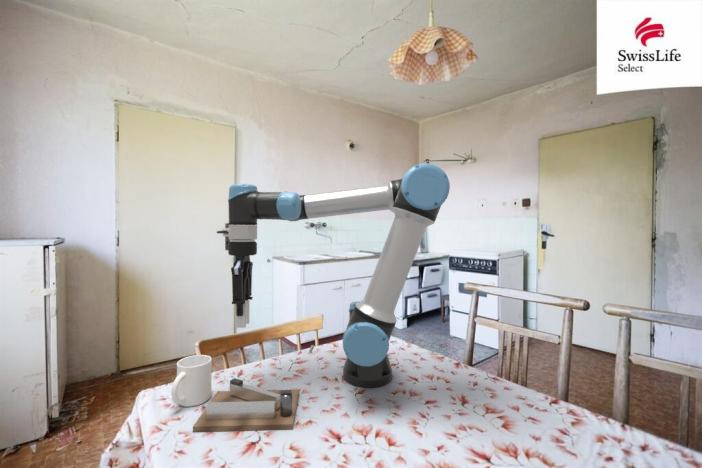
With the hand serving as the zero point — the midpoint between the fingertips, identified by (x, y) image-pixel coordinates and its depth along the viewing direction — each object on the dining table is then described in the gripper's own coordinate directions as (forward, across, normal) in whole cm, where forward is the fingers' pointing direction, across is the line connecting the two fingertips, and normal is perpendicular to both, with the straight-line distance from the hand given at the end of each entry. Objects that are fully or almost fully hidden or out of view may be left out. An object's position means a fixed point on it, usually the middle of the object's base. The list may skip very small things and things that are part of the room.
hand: (242, 325), depth 91 cm
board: (+19, +10, +5) cm, 22 cm away
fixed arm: (+17, +14, +6) cm, 23 cm away
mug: (+19, +5, -12) cm, 23 cm away
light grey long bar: (+17, +8, +5) cm, 19 cm away
